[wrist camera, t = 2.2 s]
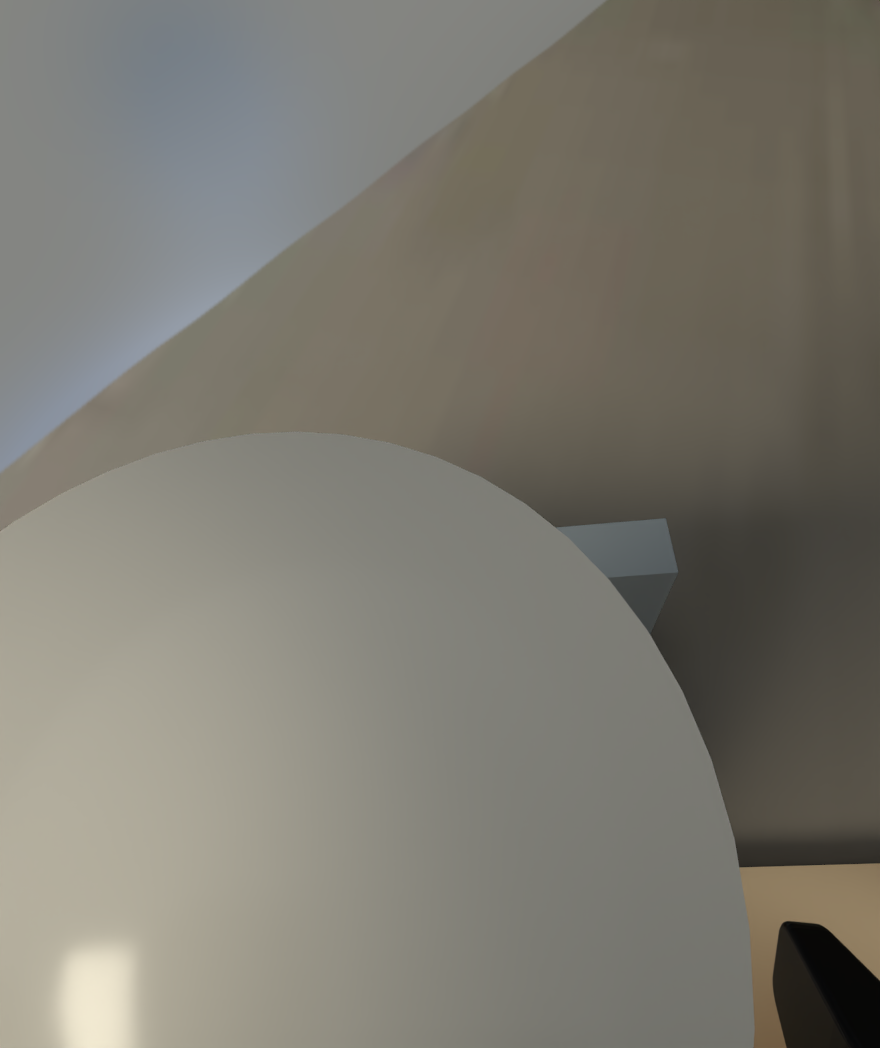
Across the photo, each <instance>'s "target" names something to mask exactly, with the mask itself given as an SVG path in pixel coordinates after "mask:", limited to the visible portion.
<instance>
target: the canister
mask: <svg viewBox="0 0 880 1048" xmlns="http://www.w3.org/2000/svg"><path fill="white" fill-rule="evenodd" d="M754 1032H755V1026H754V1006H753V986H752V966H751V946H750V928H749V922H748V916H747V910H746V905H745V899H744V893H743V887H742V881H741V875H740V869H739V863H738V857H737V851H736V845H735V839H734V836H733V832H732V829H731V825H730V822H729V818H728V815H727V811H726V808H725V805H724V801H723V798H722V794H721V791H720V787H719V784H718V780H717V777H716V774H715V770H714V767H713V763H712V760H711V757H710V755H709V753H708V750H707V748H706V746H705V743H704V741H703V739H702V736H701V734H700V731H699V729H698V727H697V724H696V722H695V720H694V717H693V715H692V713H691V710H690V708H689V706H688V703H687V701H686V698H685V696H684V694H683V691H682V689H681V688H680V686H679V684H678V682H677V681H676V679H675V677H674V676H673V674H672V672H671V670H670V669H669V667H668V665H667V663H666V662H665V660H664V658H663V656H662V655H661V653H660V651H659V649H658V648H657V646H656V644H655V643H654V641H653V639H652V637H651V636H650V634H649V632H648V630H647V629H646V628H645V626H644V625H643V624H642V622H641V621H640V620H639V618H638V617H637V616H636V615H635V613H634V612H633V611H632V609H631V608H630V607H629V605H628V604H627V603H626V601H625V600H624V599H623V597H622V596H621V595H620V593H619V592H618V591H617V589H616V588H615V587H614V585H613V584H612V583H611V581H610V580H609V579H608V578H607V577H606V576H605V575H604V574H603V573H602V572H601V571H600V570H599V569H598V568H597V567H596V566H595V565H594V564H593V563H592V562H591V561H590V560H589V558H588V557H587V556H586V555H585V554H584V553H583V552H582V551H581V550H580V549H579V548H578V547H577V546H576V545H575V544H574V543H573V542H572V541H571V540H570V539H569V538H568V537H567V536H565V535H564V534H563V533H562V532H560V531H559V530H558V529H557V528H555V527H554V526H553V525H552V524H550V523H549V522H548V521H547V520H545V519H544V518H543V517H541V516H540V515H539V514H538V513H536V512H535V511H534V510H533V509H531V508H530V507H529V506H528V505H526V504H525V503H523V502H522V501H520V500H518V499H517V498H515V497H513V496H512V495H510V494H508V493H507V492H505V491H504V490H502V489H500V488H499V487H497V486H495V485H494V484H492V483H490V482H489V481H487V480H485V479H484V478H482V477H480V476H478V475H476V474H473V473H471V472H469V471H467V470H464V469H462V468H460V467H458V466H455V465H453V464H451V463H449V462H446V461H444V460H442V459H440V458H437V457H435V456H432V455H428V454H425V453H422V452H418V451H415V450H412V449H409V448H405V447H402V446H399V445H395V444H392V443H388V442H383V441H377V440H371V439H366V438H360V437H355V436H349V435H343V434H327V433H310V432H280V433H261V434H247V435H240V436H234V437H228V438H221V439H215V440H209V441H202V442H198V443H195V444H191V445H187V446H183V447H179V448H176V449H172V450H168V451H164V452H161V453H157V454H153V455H151V456H148V457H145V458H143V459H140V460H137V461H135V462H132V463H129V464H126V465H124V466H121V467H118V468H116V469H113V470H110V471H108V472H106V473H103V474H101V475H99V476H97V477H95V478H93V479H91V480H89V481H87V482H85V483H82V484H80V485H78V486H76V487H74V488H72V489H70V490H68V491H66V492H64V493H62V494H60V495H58V496H56V497H55V498H53V499H51V500H50V501H48V502H46V503H45V504H43V505H41V506H39V507H38V508H36V509H34V510H33V511H31V512H29V513H28V514H26V515H24V516H23V517H21V518H19V519H17V520H16V521H14V522H13V523H11V524H10V525H9V526H7V527H6V528H4V529H3V530H2V531H0V1048H753V1047H754Z"/></svg>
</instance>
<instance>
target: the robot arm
mask: <svg viewBox="0 0 880 1048" xmlns="http://www.w3.org/2000/svg"><path fill="white" fill-rule="evenodd" d="M772 982H773V993H774V999H775V1004H776V1008H777V1012H778V1016H779V1020H780V1024H781V1028H782V1032H783V1036H784V1040H785V1044H786V1048H880V980H879V979H878V978H877V977H876V976H875V975H874V974H873V973H872V972H871V971H870V970H869V969H868V968H867V967H866V966H865V965H864V964H863V963H862V962H861V961H860V960H859V959H858V958H857V957H856V956H855V955H854V954H853V953H852V952H851V951H850V950H849V949H848V948H847V947H846V946H845V945H844V944H843V943H842V942H841V941H840V940H838V939H837V938H836V937H835V936H834V935H833V934H832V933H831V932H830V931H829V930H828V929H827V928H825V927H824V926H822V925H820V924H815V923H805V922H795V921H786V922H783V923H782V925H781V926H780V929H779V934H778V941H777V948H776V955H775V962H774V969H773V977H772Z"/></svg>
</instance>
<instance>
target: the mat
mask: <svg viewBox="0 0 880 1048" xmlns="http://www.w3.org/2000/svg"><path fill="white" fill-rule="evenodd" d="M739 869H740V875H741V881H742V887H743V893H744V899H745V905H746V910H747V916H748V922H749V928H750V946H751V966H752V986H753V1006H754V1026H755V1032H754V1047H753V1048H786V1044H785V1040H784V1036H783V1032H782V1028H781V1024H780V1020H779V1016H778V1012H777V1008H776V1004H775V999H774V993H773V982H772V977H773V969H774V962H775V955H776V948H777V941H778V934H779V929H780V926H781V925H782V923H783V922H786V921H795V922H805V923H815V924H820V925H822V926H824V927H825V928H827V929H828V930H829V931H830V932H831V933H832V934H833V935H834V936H835V937H836V938H837V939H838V940H840V941H841V942H842V943H843V944H844V945H845V946H846V947H847V948H848V949H849V950H850V951H851V952H852V953H853V954H854V955H855V956H856V957H857V958H858V959H859V960H860V961H861V962H862V963H863V964H864V965H865V966H866V967H867V968H868V969H869V970H870V971H871V972H872V973H873V974H874V975H875V976H876V977H877V978H878V979H879V980H880V863H877V864H842V865H808V866H773V867H739Z"/></svg>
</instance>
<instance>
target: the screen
mask: <svg viewBox="0 0 880 1048" xmlns="http://www.w3.org/2000/svg"><path fill="white" fill-rule="evenodd" d="M556 528H557V529H558V530H559V531H560V532H562V533H563V534H564V535H565V536H567V537H568V538H569V539H570V540H571V541H572V542H573V543H574V544H575V545H576V546H577V547H578V548H579V549H580V550H581V551H582V552H583V553H584V554H585V555H586V556H587V557H588V558H589V560H590V561H591V562H592V563H593V564H594V565H595V566H596V567H597V568H598V569H599V570H600V571H601V572H602V573H603V574H604V575H605V576H606V577H607V578H608V579H609V580H610V581H611V583H612V584H613V585H614V587H615V588H616V589H617V591H618V592H619V593H620V595H621V596H622V597H623V599H624V600H625V601H626V603H627V604H628V605H629V607H630V608H631V609H632V611H633V612H634V613H635V615H636V616H637V617H638V618H639V620H640V621H641V622H642V624H643V625H644V626H645V628H646V629H647V630H648V632H649V634H650V633H651V631H652V629H653V627H654V625H655V622H656V620H657V618H658V616H659V614H660V611H661V609H662V607H663V605H664V603H665V601H666V598H667V596H668V594H669V592H670V590H671V587H672V585H673V583H674V581H675V579H676V577H677V574H678V568H677V564H676V560H675V556H674V551H673V547H672V543H671V538H670V534H669V530H668V526H667V521H666V518H663V519H651V520H640V521H628V522H616V523H604V524H592V525H580V526H568V527H556Z"/></svg>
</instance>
